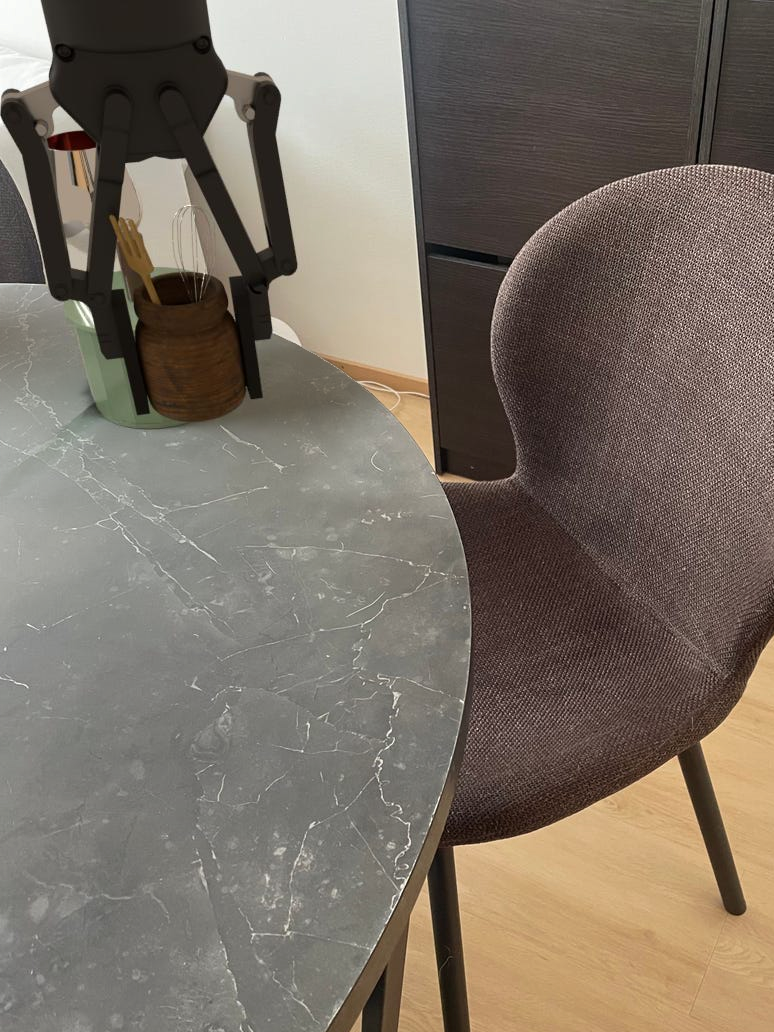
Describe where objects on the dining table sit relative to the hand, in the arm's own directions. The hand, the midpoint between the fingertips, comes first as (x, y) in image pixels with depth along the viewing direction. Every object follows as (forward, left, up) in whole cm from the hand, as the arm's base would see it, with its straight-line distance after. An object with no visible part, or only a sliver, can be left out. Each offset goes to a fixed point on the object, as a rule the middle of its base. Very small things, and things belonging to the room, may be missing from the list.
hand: (198, 395), depth 63 cm
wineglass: (-28, +29, -14) cm, 43 cm away
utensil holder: (0, 0, -1) cm, 1 cm away
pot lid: (-19, +21, -6) cm, 29 cm away
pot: (-19, +21, -14) cm, 31 cm away
